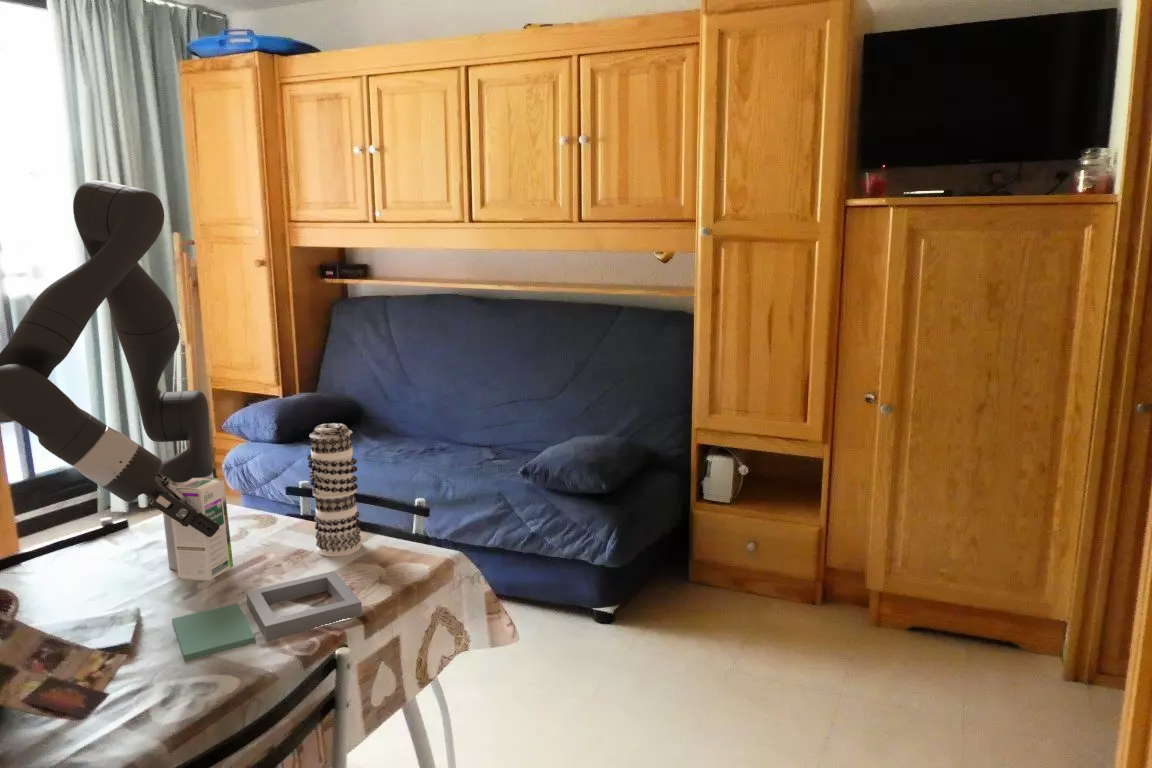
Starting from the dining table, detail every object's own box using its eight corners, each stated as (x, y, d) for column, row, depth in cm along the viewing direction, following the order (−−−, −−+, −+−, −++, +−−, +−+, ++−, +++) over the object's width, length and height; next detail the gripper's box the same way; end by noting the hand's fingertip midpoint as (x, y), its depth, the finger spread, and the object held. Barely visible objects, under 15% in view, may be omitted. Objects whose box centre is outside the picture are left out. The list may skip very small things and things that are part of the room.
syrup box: (211, 581, 124) (202, 489, 122) (176, 578, 125) (167, 487, 123) (233, 566, 130) (225, 478, 127) (200, 564, 131) (191, 476, 128)
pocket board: (247, 605, 139) (245, 591, 139) (335, 583, 147) (334, 570, 147) (266, 641, 127) (265, 626, 126) (362, 616, 135) (361, 601, 134)
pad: (172, 624, 133) (171, 618, 133) (238, 608, 138) (237, 603, 138) (184, 661, 121) (183, 655, 121) (255, 642, 127) (255, 636, 126)
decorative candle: (305, 549, 163) (295, 427, 159) (345, 536, 170) (336, 418, 166) (331, 561, 157) (322, 434, 153) (372, 546, 164) (364, 424, 160)
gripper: (140, 453, 114) (236, 517, 122) (131, 433, 126) (219, 492, 134) (101, 497, 112) (201, 558, 120) (96, 472, 124) (187, 530, 132)
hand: (210, 523), depth 127 cm, fingers closed on syrup box, 8 cm apart
